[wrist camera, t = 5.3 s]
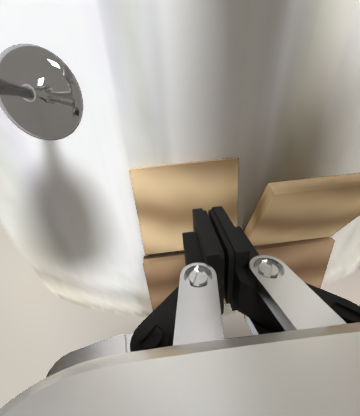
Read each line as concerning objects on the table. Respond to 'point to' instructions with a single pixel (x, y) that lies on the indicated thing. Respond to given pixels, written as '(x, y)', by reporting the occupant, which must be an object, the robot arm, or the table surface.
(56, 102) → the wine glass
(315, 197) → the oak plank
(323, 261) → the walnut board
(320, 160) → the table surface
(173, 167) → the oak plank
